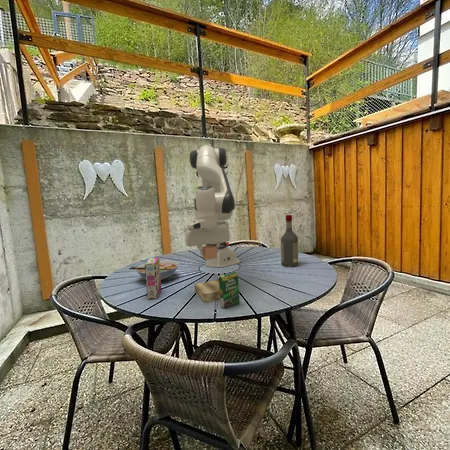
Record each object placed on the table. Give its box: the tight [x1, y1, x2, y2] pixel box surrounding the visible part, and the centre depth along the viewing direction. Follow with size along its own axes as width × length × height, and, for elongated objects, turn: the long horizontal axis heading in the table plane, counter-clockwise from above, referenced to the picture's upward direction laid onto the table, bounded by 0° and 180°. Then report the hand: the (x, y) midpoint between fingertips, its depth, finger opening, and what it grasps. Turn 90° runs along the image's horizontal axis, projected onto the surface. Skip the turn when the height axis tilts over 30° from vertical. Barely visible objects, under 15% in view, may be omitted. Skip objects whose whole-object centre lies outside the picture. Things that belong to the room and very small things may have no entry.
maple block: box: [194, 279, 220, 303], centre depth 121 cm, size 12×14×4 cm
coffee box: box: [218, 271, 241, 310], centre depth 107 cm, size 8×3×13 cm, turn 123°
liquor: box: [280, 214, 299, 268], centre depth 157 cm, size 9×9×30 cm
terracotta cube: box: [201, 245, 217, 261], centre depth 118 cm, size 5×5×5 cm
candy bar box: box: [144, 257, 162, 300], centre depth 123 cm, size 11×5×16 cm, turn 5°
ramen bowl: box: [128, 259, 180, 281], centre depth 146 cm, size 25×23×8 cm
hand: (209, 253), depth 118 cm, fingers closed on terracotta cube, 5 cm apart
